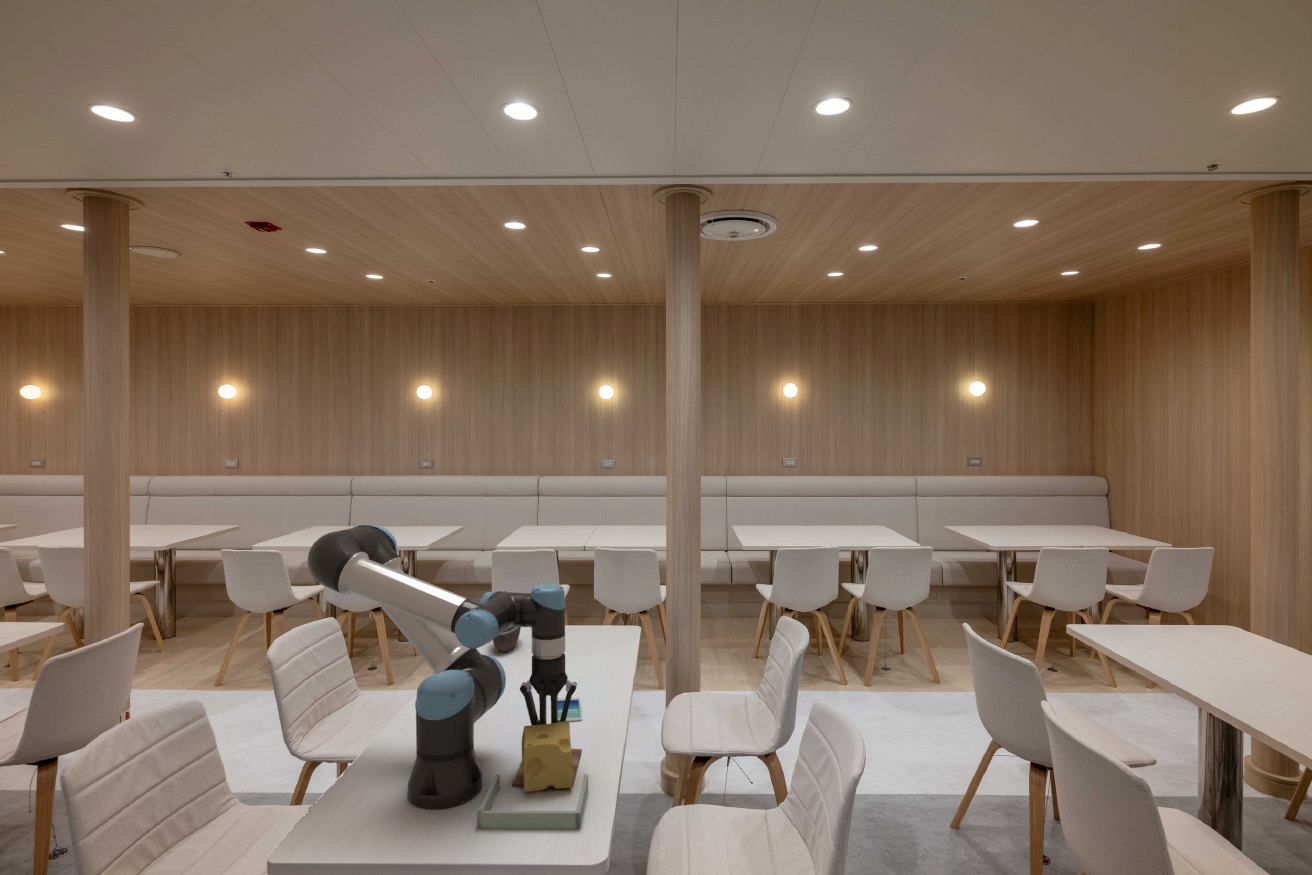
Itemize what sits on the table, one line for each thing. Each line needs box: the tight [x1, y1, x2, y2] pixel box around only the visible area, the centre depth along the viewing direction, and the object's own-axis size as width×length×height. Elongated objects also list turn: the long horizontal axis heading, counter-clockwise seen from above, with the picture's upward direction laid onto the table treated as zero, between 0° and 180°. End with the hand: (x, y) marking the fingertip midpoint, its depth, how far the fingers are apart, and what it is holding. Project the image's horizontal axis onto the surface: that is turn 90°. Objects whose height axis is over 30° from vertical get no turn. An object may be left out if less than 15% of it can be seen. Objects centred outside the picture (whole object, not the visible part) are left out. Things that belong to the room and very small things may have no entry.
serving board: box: [511, 748, 583, 788], centre depth 152 cm, size 16×13×1 cm
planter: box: [492, 590, 522, 653], centre depth 237 cm, size 15×17×20 cm
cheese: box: [521, 721, 574, 793], centre depth 146 cm, size 10×11×10 cm
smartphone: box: [558, 697, 583, 723], centre depth 184 cm, size 8×1×15 cm
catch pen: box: [476, 773, 589, 830], centre depth 136 cm, size 15×20×3 cm
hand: (548, 756), depth 153 cm, fingers closed
